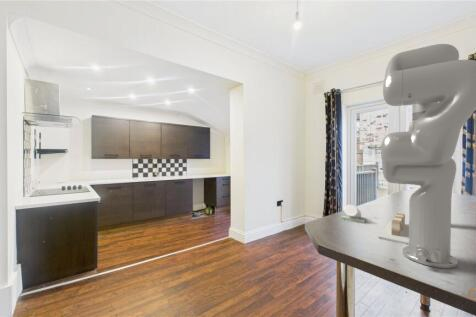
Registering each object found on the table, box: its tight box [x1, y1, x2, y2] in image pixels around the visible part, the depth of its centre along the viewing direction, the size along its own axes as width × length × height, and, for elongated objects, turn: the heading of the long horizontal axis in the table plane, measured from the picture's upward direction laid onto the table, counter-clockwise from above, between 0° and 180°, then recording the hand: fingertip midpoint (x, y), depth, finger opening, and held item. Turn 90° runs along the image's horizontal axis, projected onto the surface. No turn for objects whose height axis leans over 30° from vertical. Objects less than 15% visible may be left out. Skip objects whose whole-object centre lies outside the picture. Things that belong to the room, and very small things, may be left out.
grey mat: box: [377, 220, 409, 245], centre depth 90 cm, size 26×9×1 cm, turn 138°
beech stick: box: [391, 212, 406, 236], centre depth 91 cm, size 18×2×5 cm, turn 138°
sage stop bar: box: [340, 215, 366, 224], centre depth 105 cm, size 2×10×1 cm, turn 48°
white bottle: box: [343, 204, 362, 219], centre depth 108 cm, size 6×12×6 cm, turn 139°
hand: (424, 162), depth 84 cm, fingers open, 9 cm apart
